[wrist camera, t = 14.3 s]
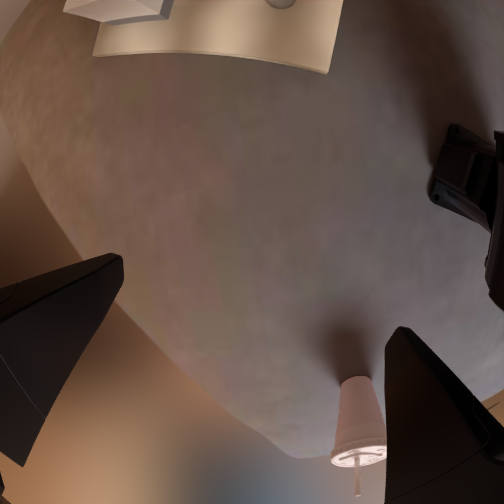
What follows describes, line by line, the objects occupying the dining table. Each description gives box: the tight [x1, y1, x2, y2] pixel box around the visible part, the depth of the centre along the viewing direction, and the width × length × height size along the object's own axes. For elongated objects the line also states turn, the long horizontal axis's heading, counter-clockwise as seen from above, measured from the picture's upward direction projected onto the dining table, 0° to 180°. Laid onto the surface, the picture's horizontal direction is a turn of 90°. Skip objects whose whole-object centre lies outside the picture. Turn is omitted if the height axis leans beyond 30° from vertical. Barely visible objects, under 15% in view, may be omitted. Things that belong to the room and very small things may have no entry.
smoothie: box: [331, 376, 387, 496], centre depth 22 cm, size 6×6×14 cm
